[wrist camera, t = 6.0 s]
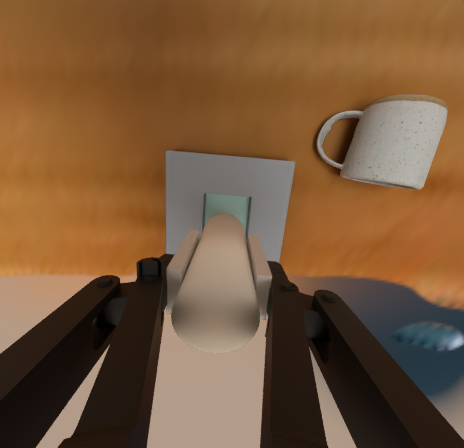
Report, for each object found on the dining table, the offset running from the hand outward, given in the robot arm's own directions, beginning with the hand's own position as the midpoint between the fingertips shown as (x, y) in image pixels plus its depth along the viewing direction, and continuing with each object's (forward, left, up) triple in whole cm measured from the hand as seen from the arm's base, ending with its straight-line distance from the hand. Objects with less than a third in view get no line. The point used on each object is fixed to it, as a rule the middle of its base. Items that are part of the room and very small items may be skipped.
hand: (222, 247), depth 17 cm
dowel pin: (0, 0, -4) cm, 4 cm away
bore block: (0, 0, -11) cm, 11 cm away
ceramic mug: (-9, +15, -12) cm, 22 cm away
